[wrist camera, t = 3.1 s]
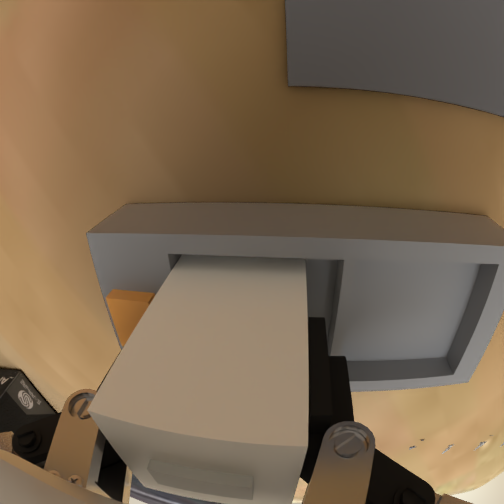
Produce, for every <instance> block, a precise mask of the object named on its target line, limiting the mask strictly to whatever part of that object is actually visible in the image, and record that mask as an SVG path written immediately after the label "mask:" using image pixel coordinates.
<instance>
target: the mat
mask: <svg viewBox="0 0 504 504" xmlns="http://www.w3.org/2000/svg"><path fill="white" fill-rule="evenodd" d="M285 12H286V35H287V64H288V86H301V87H328V88H344V89H356V90H367V91H376V92H385V93H392V94H400V95H407V96H413V97H419V98H425V99H430V100H436V101H441V102H446V103H451V104H455V105H460V106H464V107H468V108H472V109H476V110H480V111H484V112H488V113H491V114H495V115H498V116H502V117H504V0H285Z"/></svg>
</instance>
